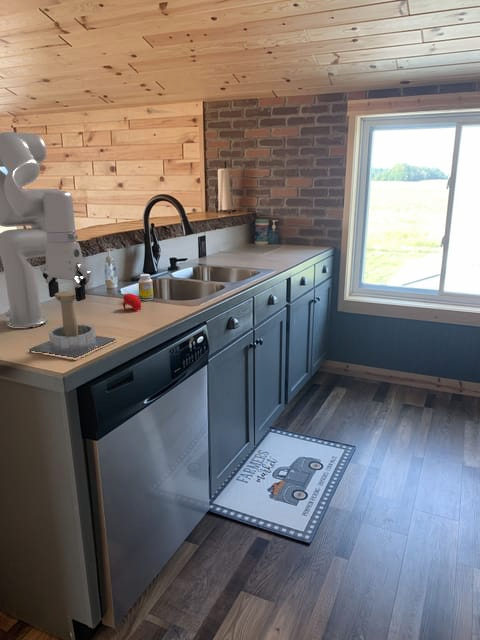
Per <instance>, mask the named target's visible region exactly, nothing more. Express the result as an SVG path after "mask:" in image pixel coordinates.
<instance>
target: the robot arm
mask: <svg viewBox="0 0 480 640" xmlns="http://www.w3.org/2000/svg"><path fill="white" fill-rule="evenodd" d="M47 153H48V152H47V145H46V143H45V141H44V140H43V138H42V137H41V136H39V134H36V133H33V132H16V131H15V132H14V131H4V132H0V168H5V169H6V172H7V174H5V172H4V171H2V170H1V169H0V227H2V228H3V227H5V228H13V227H30V228H17V229H16V228H15V229H14V228H13V229H8V230H4V231H1V232H0V259H1V263H2V267H3V272H4V277H5V278H4V280H5V284H6V290H7V298H8V303H9V304H8V305H9V308H8V310H7V311H6V312H4V316H5V317H9V320H8V321H7V322H6V325H7V324H8V325H10V326H13V327H33V326H37V327H39V326H38V325H41V324H43V325H45V324H46V323H45V322H47V323H48V317H46V316H45V315H43V314H42V313H43V312H42V307H41V298H40V291H39V283H38V276H37V271H36V269H35V268H34V266H33V265H32V264H31V263H30V262H29V261H28V259H31V258H32V259H33V258H41V257H45V263H44V264H42V265H40V266H39V270H40V272H41V274H42V277H43V278H44V280H45V282H46V284H48V286H47V288H48V296H49V297H50V298H55V293H58V292H60V288H59V282H58V281H57V280H58V279H59V280H68V281H72V282H73V284H75V286H74V292H75V294H76V299H75V301H77V302H81V301H84V300H86V288H85V286H87V284H88V282H89V281H90V277H91V275H92V273H91V271H90V270H89V269H87V268H86V267H85V263H84V258H83V253H82V252H83V251H82V249H81V246H80V243H79V242H77V240H78V239H79V236H78V235H77V234H76V223H75V221H76V220H75V211H74V203H73V202H74V201H73V196H72V193H71V192H69V191H67V190H66V191H65V190H59V189H57V188H38V189H37V188H35V189H34V188H30V189H29V188H27V189H23V187H25V186H27V185H29V184H32V183H33V182H34V181H36V179H37V178H38V177H39V176H40V172H41V168H40V167H41V166H40V165H39V164H41V163H42V162H44V161H45V159H46V158H47ZM9 323H11V324H9ZM44 323H45V324H44ZM41 326H42V325H41ZM33 328H34V327H33Z"/></svg>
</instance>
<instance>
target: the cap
mask: <svg viewBox="0 0 480 640" xmlns="http://www.w3.org/2000/svg"><path fill="white" fill-rule="evenodd" d="M122 299H123V301H122V306H123V309H125V310H124V311H126V310H127V308H126V305H128V306H131V307H132V310H134V311H135V312H138V311H137V310H140V311H141V309H142V300H140V298H139V297H138V296H137V295H136V294H134V293H126V294H124V295H123V298H122Z"/></svg>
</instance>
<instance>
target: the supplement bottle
mask: <svg viewBox="0 0 480 640" xmlns="http://www.w3.org/2000/svg"><path fill="white" fill-rule="evenodd" d="M137 282H138V296H139V297H138V298H139V299H140V301H142V300H143V302H148V301H149V302H150V301H153V299H154V287H153V286H154V285H153V279H151V274H149V273H142V274H140V275H139V280H138V281H137Z"/></svg>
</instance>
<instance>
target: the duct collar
mask: <svg viewBox="0 0 480 640" xmlns="http://www.w3.org/2000/svg"><path fill="white" fill-rule="evenodd" d="M77 325H78V335H77V336H65V333H64V327H63V325H62V326H57V327H55V328H53V329H50V331H48V337H49V340H47V341H45V342H42V343H40V344H39V345H36V346H33V347H30V348H29V349H28V351H29V350H30V351H35V352H42V353H49V354H55V355H61V356H67V357H73V358H77V357H79V356H82V355H84V354H86V353H88V352H90V351H92V350H94V349H96V348H99V347H101V346H104V345H106V344H108V343H110V342H113V341H114V340H116V338H114V337H108V336H101V335H96V329H95V326H93V325H90V324H85V323H83V324H81V323H80V324H79V323H77ZM116 341H117V340H116Z"/></svg>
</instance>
